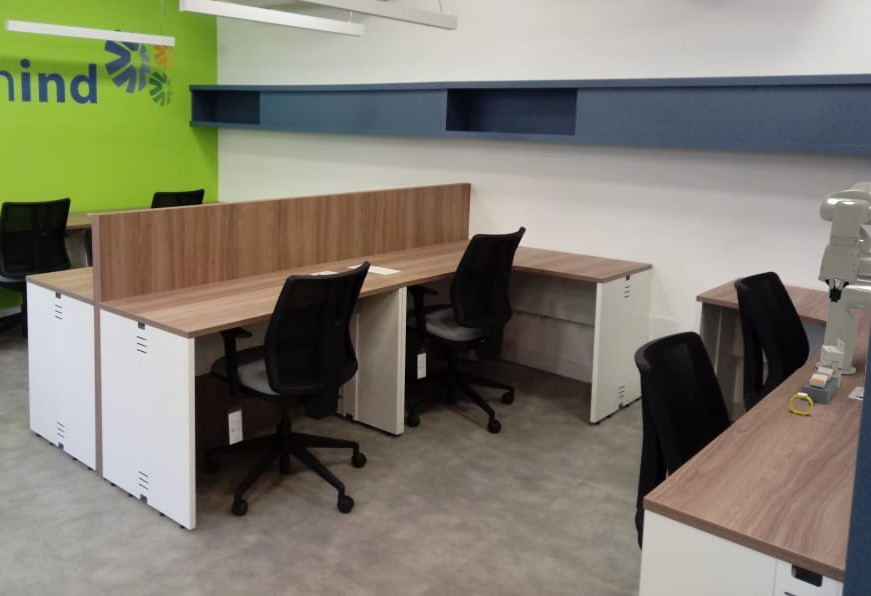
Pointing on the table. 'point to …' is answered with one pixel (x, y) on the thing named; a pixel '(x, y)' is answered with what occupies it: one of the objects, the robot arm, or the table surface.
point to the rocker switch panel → (820, 391)
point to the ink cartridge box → (833, 359)
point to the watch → (802, 397)
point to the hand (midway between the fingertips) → (834, 301)
